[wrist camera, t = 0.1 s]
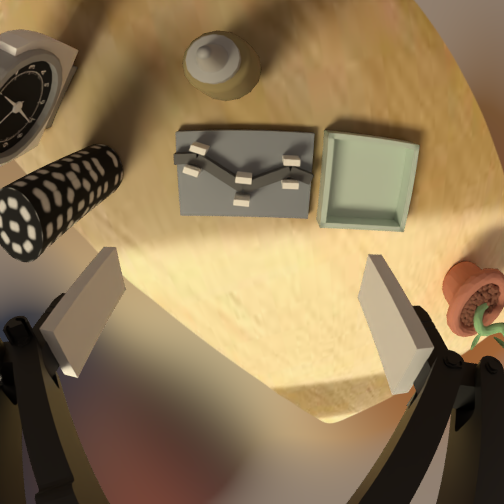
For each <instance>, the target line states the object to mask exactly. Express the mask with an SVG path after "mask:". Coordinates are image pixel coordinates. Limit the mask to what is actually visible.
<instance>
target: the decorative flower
mask: <svg viewBox="0 0 504 504" xmlns="http://www.w3.org/2000/svg"><path fill="white" fill-rule="evenodd" d="M442 290H443V294H444V296H445V299H446V300H447V302H448V304H449V305H450V306H449V309H448V312H447V324H448V326H449V327H450V329H451V330H452V332H453V333H455V334H456V335H458V336H462V337H467V336H472V335H475V334H477V333H478V334H479V335H477V336H476V337H475V339H474V340H473V342H472V345H471V350H472V349H473V348H474V347H475V345H476V344H477V342H478V340H479V338H480V336H489V335H492V334H495V333H498V332H501V333H502V334H503V336H504V323H494V324H491V323H492V322H493V321H494V320H495V319H496V318H497V317H498V315H499V314H500V312H501V311H502V309H503V307H504V275H503V273H502V272H500V271H499V270H498V269H487V268H485V269H483V270H481V269H480V268H479V267H478V266H476V265H475V264H474V263H471V262H468V261H464V262H460V263H458V264H456V265H455V266H454V267H452V268H451V269H450V271H449V272H448V273H447V275H446V277H445V278H444V281H443V288H442ZM490 324H491V325H490ZM494 339H495V340H496V341H497V342H498V343H499V344H500V345H501V346H502V347H503V348H504V342H503V341H501V340H500V339H498V338H496V337H494Z"/></svg>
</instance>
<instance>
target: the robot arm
mask: <svg viewBox="0 0 504 504" xmlns="http://www.w3.org/2000/svg"><path fill="white" fill-rule="evenodd" d="M125 290H126V288H125V284H124V280H123V276H122V272H121V268H120V263H119V259H118V254H117V249H116V247H103V249H102V250H101V251H100V252H99V253H98V254H97V256H96V257H95V258H94V259H93V260H92V261H91V263H90V264H89V265H88V266H87V267H86V269H85V270H84V271H83V272H82V273H81V275H80V276H79V277H78V278H77V280H76V281H75V282H74V283H73V285H72V286H71V287H70V288H69V290H68V291H67V292H66V293H62V294H61V295H59V296H58V297H57V298H56V299H54V301H53V302H52V303H51V304H50V306H49V307H48V308H47V310H46V311H45V313H44V314H43V315H42V316H41V318H40V319H39V320H38V322H37V323H36V324H35V326H34V327H33V328H32V327H31V325H30V323H29V321H28V320H27V318H26V317H24V316H17V317H14V318H12V319H10V320H9V321H8V322H7V323H6V325H5V326H4V329H3V331H4V333H5V335H6V337H7V339H8V340H9V342H2V340H1V338H0V504H26V498H25V490H24V478H23V462H22V430H23V434H24V439H25V443H26V446H27V451H28V455H29V458H30V462H31V465H32V469H33V472H34V475H35V478H36V482H37V485H38V488H39V492H38V493H37V494H35V501H36V504H110V503H109V502H108V500H107V498H106V496H105V495H104V493H103V490H102V489H101V487H100V485H99V483H98V480H97V478H96V477H95V474H94V472H93V470H92V468H91V466H90V463H89V461H88V459H87V456H86V454H85V452H84V449H83V447H82V444H81V442H80V439H79V437H78V434H77V431H76V429H75V426H74V423H73V420H72V418H71V415H70V412H69V409H68V406H67V402H66V399H65V396H64V393H63V389H62V386H61V382H60V379H59V376H58V374H57V372H56V371H57V369H58V367H59V366H60V368H61V369H62V371H63V373H64V374H66V375H69V376H74V377H77V378H78V376H79V374H80V372H81V370H82V368H83V366H84V364H85V362H86V360H87V358H88V356H89V354H90V353H91V351H92V349H93V347H94V345H95V343H96V341H97V339H98V338H99V335H100V334H101V332H102V330H103V328H104V327H105V325H106V323H107V321H108V319H109V317H110V316H111V314H112V312H113V310H114V309H115V307H116V305H117V304H118V302H119V300H120V298H121V297H122V295H123V293H124V291H125ZM358 299H359V302H360V304H361V307H362V310H363V312H364V315H365V318H366V320H367V323H368V326H369V328H370V331H371V334H372V337H373V339H374V342H375V345H376V348H377V351H378V353H379V356H380V359H381V362H382V365H383V368H384V371H385V374H386V377H387V380H388V383H389V387H390V390H391V393H392V395H394V394H401V393H408V392H409V390H410V388H411V387H412V385H413V384H414V386H415V389H416V392H415V394H414V395H413V397H412V398H411V400H410V401H409V402H408V404H407V406H408V407H407V409H406V411H405V413H404V415H403V417H402V419H401V420H400V422H399V424H398V426H397V428H396V429H395V432H394V433H393V435H392V436H391V438H390V440H389V442H388V443H387V445H386V447H385V448H384V450H383V452H382V453H381V455H380V456H379V458H378V460H377V461H376V463H375V464H374V466H373V467H372V469H371V470H370V472H369V473H368V475H367V476H366V478H365V479H364V481H363V482H362V483H361V485H360V486H359V488H358V489H357V490H356V492H355V493H354V494H353V496H352V497H351V498H350V500H349V501H348V502H347V504H409V503H410V502H411V500H412V498H413V496H414V494H415V493H416V491H417V489H418V487H419V485H420V483H421V481H422V479H423V477H424V475H425V473H426V471H427V469H428V467H429V465H430V463H431V461H432V459H433V456H434V454H435V452H436V450H437V447H438V445H439V443H440V440H441V438H442V435H443V433H444V430H445V428H446V425H447V422H448V420H449V417H450V414H451V421H450V430H449V439H448V447H447V453H446V459H445V466H444V471H443V476H442V482H441V485H440V490H439V495H438V499H437V503H436V504H504V369H503V366H502V364H501V363H500V361H499V360H497V359H496V358H494V357H492V356H485V357H483V358H482V359H481V360H480V362H479V363H478V364H474V363H467V362H464V360H463V358H462V357H461V356H460V355H459V354H458V353H456V352H454V351H451V350H448V349H447V347H446V345H445V343H444V341H443V339H442V338H441V336H440V334H439V332H438V330H437V329H436V328H435V325H434V323H433V322H432V320H431V318H430V316H429V315H428V313H427V312H426V311H425V310H424V309H423V308H422V307H420V306H412V305H411V303H410V301H409V300H408V298H407V296H406V294H405V293H404V291H403V289H402V288H401V286H400V284H399V282H398V281H397V279H396V277H395V276H394V274H393V273H392V271H391V269H390V268H389V266H388V264H387V263H386V261H385V260H384V258H383V256H382V255H372V254H368V257H367V262H366V266H365V271H364V275H363V279H362V283H361V287H360V291H359V295H358Z"/></svg>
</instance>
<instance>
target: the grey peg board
mask: <svg viewBox="0 0 504 504" xmlns="http://www.w3.org/2000/svg"><path fill="white" fill-rule="evenodd" d="M313 148H314V133H312V132H297V131H278V130H187V131H177V132H176V153H175V154H174V165H177V172H178V188H179V201H180V214H181V215H183V216H244V217H278V218H304V219H308V210H309V199H310V188H311V180H312V178H313V176H314V175H313V174H312V162H313Z"/></svg>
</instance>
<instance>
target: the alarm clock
mask: <svg viewBox="0 0 504 504" xmlns="http://www.w3.org/2000/svg"><path fill="white" fill-rule="evenodd" d="M78 51H79V50H77V49H75V48H73V47H71V46H69V45H67V44H64V43H62V42H60V41H58V40H56V39H53V38H51V37H49V36H47V35H44V34H41V33H38V32H34V31H29V30H22V29H21V30H12V31H7V32H4V33H2V34H0V166H2V165H4V164H6V163H8V162H10V161H12V160H14V159H16V158H18V157H19V156H21V155H23V154H25V153H26V152H28V151H30V150H31V149H33V148H35V147H36V146H38V143H39V141H40V139H41V137H42V134H43V132H44V130H45V129H46V128H49V127H51V125H52V123H53V120H54V118H55V115H56V113H57V110H58V108H59V106H60V103H61V101H62V99H63V96H64V94H65V92H66V90H67V88H68V86H69V83H70V81H71V79H72V77H73V75H74V73H75V71H76V69H77V67H76V66H74V65H73V63H74V60H75V58H76V55H77V53H78Z"/></svg>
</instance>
